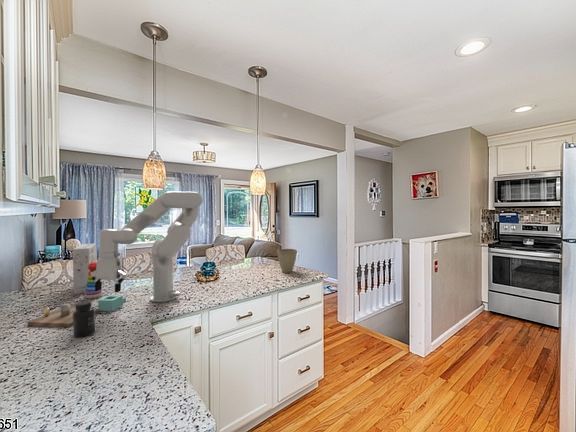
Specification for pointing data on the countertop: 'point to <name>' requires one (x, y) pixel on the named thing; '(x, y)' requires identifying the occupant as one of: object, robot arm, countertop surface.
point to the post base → (57, 318)
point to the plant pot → (287, 259)
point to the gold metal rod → (46, 312)
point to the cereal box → (82, 265)
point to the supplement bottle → (83, 319)
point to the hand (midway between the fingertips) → (107, 291)
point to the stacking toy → (92, 284)
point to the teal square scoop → (111, 303)
